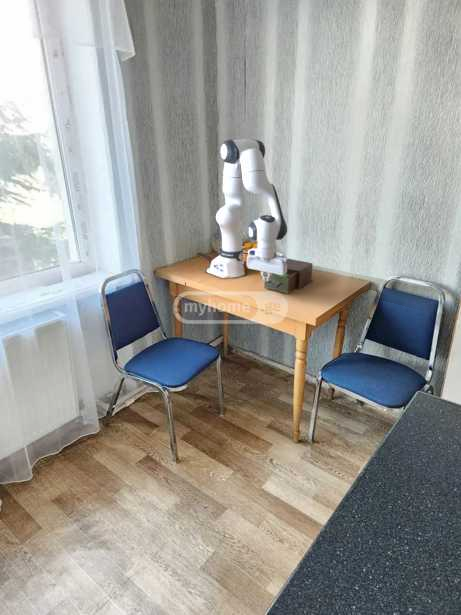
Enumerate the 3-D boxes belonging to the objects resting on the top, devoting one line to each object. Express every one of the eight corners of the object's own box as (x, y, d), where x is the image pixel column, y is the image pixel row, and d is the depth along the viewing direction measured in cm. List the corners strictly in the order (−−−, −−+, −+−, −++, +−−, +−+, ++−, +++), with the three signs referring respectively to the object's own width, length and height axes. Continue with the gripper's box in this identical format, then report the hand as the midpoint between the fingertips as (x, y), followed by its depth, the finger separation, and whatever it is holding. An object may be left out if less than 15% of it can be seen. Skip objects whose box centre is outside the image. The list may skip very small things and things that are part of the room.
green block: (283, 287, 199) (283, 278, 197) (275, 285, 201) (276, 276, 199) (289, 283, 203) (289, 274, 201) (281, 282, 206) (281, 273, 203)
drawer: (282, 296, 191) (283, 281, 188) (259, 290, 198) (259, 276, 195) (300, 285, 204) (301, 270, 201) (277, 280, 212) (278, 266, 208)
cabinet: (298, 288, 202) (299, 270, 198) (273, 282, 210) (274, 265, 206) (311, 280, 213) (312, 263, 209) (287, 275, 221) (288, 258, 217)
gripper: (290, 253, 178) (289, 282, 184) (252, 247, 189) (252, 274, 195) (283, 257, 174) (282, 286, 179) (244, 250, 185) (244, 278, 190)
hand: (266, 280), depth 187 cm, fingers closed
